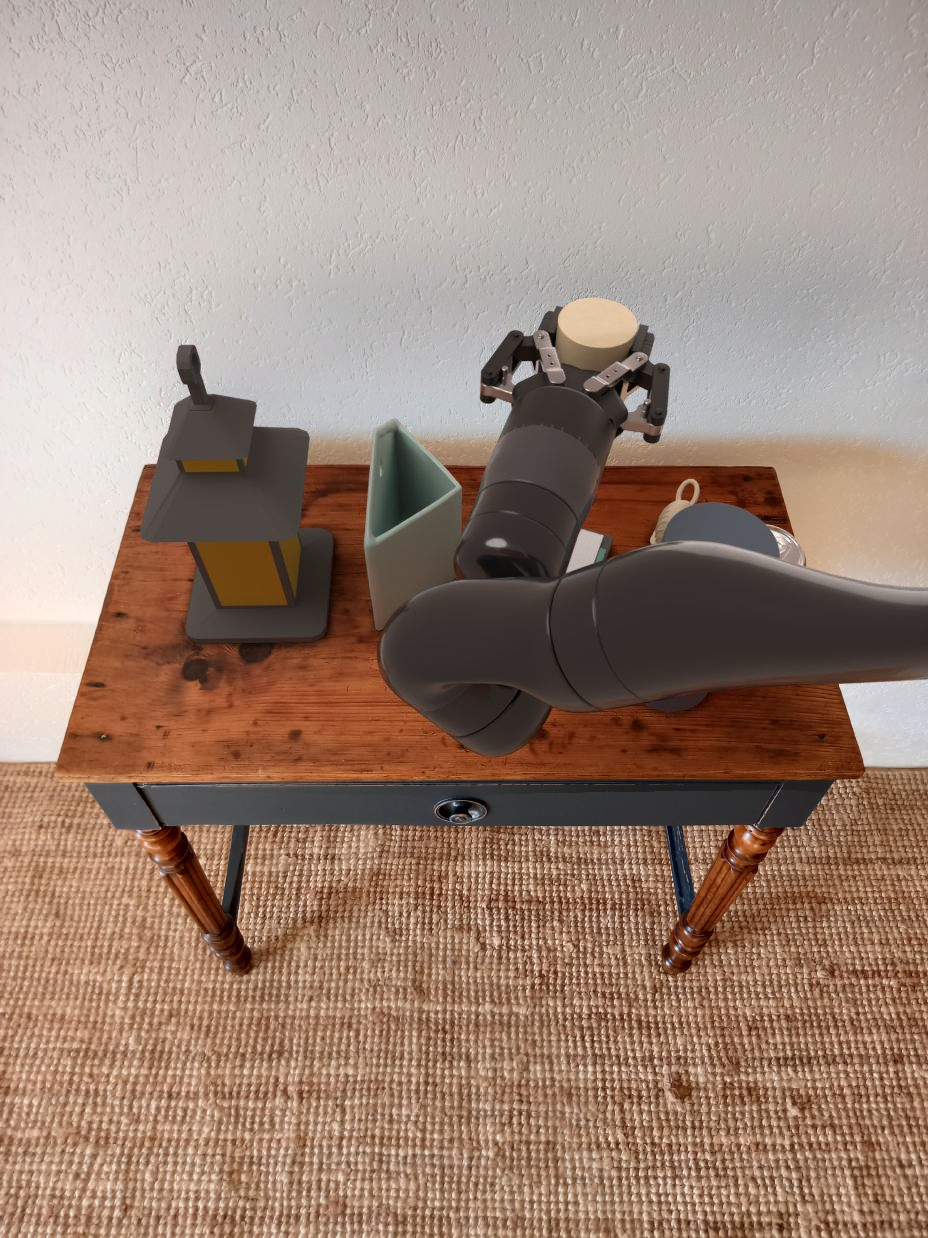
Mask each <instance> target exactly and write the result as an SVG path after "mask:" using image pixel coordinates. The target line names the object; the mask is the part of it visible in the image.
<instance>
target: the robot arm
mask: <svg viewBox="0 0 928 1238" xmlns="http://www.w3.org/2000/svg"><path fill="white" fill-rule="evenodd" d="M564 307H565V306H561V305H556V306H555V309H554V311H553V310H547V312H545V313H544V315H543V317H542V319H541V322H540V324H539V326H538V329H537V330H535V331H534V332H533V334H532V335H531V334H530V335H525V334H524V332H523V331H521V330H519V329H513V330H510V331H509V332H507V334H506V336H505V338H504V339H503V340H502V342H501V343H500V344H499V345H498V347H497V348H496V350H495V351H494V353H493V354H492V355H491V357H490V358H489V359H488V361H487V362H486V363H485V365H484V366H483V367H482V369H481V370H480V380H479V400H480V402H481V403H483V404H485V405H486V404H487V405H490V404H493V403H494V402H496V401H497V400H501V401H503V402H506V403H509V404H510V407H511V410H510V411H509V414H508V416H507V418H506V421H505V423H504V426H503V428H502V430H501V432H500V434H499V437H498V439H497V441H496V443H495V445H494V447H493V451H492V452H491V454H490V457H489V459H488V462H487V465H486V466H485V469H484V471H483V474H482V477H481V481H480V485H479V488H478V493H477V496H476V498H475V502H474V504H473V506H472V509H471V511H470V513H469V515H468V518H467V519H466V522H465V525H464V526H463V529H462V530H461V536H460V538H459V540H458V543H457V545H456V548H455V552H454V557H453V569H454V572H455V575H456V578H455V579H454V580H452V581H450V582H446V583H442V584H438V585H435V586H432V587H430V588H428V589H425V590H423V591H421V592H420V593H418V594H416V595H414V596H413V597H411V598H410V599H408V600H407V601H406V602H404V603H403V604H402V605H401V606H400V607H399V608H398V609H397V610H396V611H395V612H394V613H393V614H392V616H391V617H390V618H389V620H388V621H387V623H386V624H385V626H384V628H383V629H382V630H381V634H380V636H379V638H378V643H377V647H376V648H377V649H376V661H377V662H376V663H377V667H378V670H379V674H380V677H381V678H382V680H383V682H384V683H385V685H386V686H387V687H388V689H389V690H390V691H391V692H392V693H393V694H394V695H395V696H396V697H397V698H398V699H399V700H401V701H402V702H404V703H405V704H406V705H407V706H408V707H410V708H412V709H413V710H414V711H416V712H417V713H418V714H420V715H421V716H422V717H424V718H425V719H426V720H428V721H429V722H430V723H432V724H433V725H434V726H436V727H437V728H439V729H440V731H442V732H444V733H445V734H446V735H447V736H449V737H450V738H451V739H453V740H454V742H457V743H458V744H459V745H460V746H462V747H464V748H465V749H466V750H468V751H470V752H471V753H474V754H476V755H478V756H481V757H484V758H502V757H505V756H506V757H507V756H509V755H512V754H513V753H516V752H517V751H519V750H521V749H522V748H524V747H526V746H527V744H530V742H531V741H532V740H533V739H534V738H535V737H536V736H537V735H538V734H539V732H540V731H541V729H542V728H543V727H544V725H545V724H546V722H547V720H548V719H549V717H550V715H551V713H552V711H553V709H555V710H558V711H562V712H565V713H570V714H592V713H598V712H599V713H600V712H604V711H605V712H606V711H610V710H611V711H612V710H616V709H622V708H627V707H633V706H639V705H644V704H645V703H650V702H656V701H662V700H668V699H673V698H679V697H684V696H690V695H696V694H703V693H707V694H710V693H717V692H725V691H735V690H736V691H737V690H746V689H756V688H757V689H759V688H772V687H773V688H774V687H793V686H821V685H823V686H824V685H848V684H849V685H850V684H851V685H852V684H853V685H854V684H873V683H876V684H877V683H893V682H896V683H897V682H907V681H909V682H910V681H925V680H927V681H928V587H925V586H924V587H923V586H904V585H903V586H901V585H893V584H884V583H877V582H871V581H866V580H861V579H857V578H853V577H852V578H851V577H847V576H842V575H838V574H835V573H831V572H827V571H824V570H820V569H816V568H813V567H810V566H807V565H806V566H802V565H799V564H796V563H792V562H789V561H786V560H783V559H780V558H777V557H773V556H770V555H767V554H764V553H760V552H756V551H752V550H748V549H745V548H741V547H737V546H733V545H728V544H722V543H716V542H711V541H699V540H678V541H670V542H663V543H657V544H652V545H651V544H649V545H644V546H640V547H637V548H634V549H630V550H628V551H625V552H622V553H619V554H617V555H613V556H611V557H608V558H607V559H605V560H602V561H599V562H596V563H593V564H590V565H587V566H584V567H581V568H578V569H576V570H573V571H570V572H567V573H566V571H567V568H568V566H569V563H570V560H571V556H572V553H573V550H574V547H575V544H576V541H577V538H578V535H579V533H580V531H581V529H582V528H584V526H585V524H586V522H587V520H588V518H589V515H590V513H591V511H592V508H593V506H594V505H595V503H596V500H597V496H598V489H599V486H600V484H601V480H602V478H603V477H602V476H603V474H604V472H605V471H604V470H605V468H606V464H607V462H608V459H609V455H610V452H611V449H612V446H613V443H614V441H615V440H616V438H618V437H619V436H621V435H622V434H623V433H624V431H627V432H634V433H641V434H642V438H643V441H644V442H645V443H648V444H651V445H654V444H657V443H659V441H660V439H661V436H662V433H663V429H664V427H665V426H664V425H665V423H666V421H667V420H666V419H667V416H668V407H669V394H670V380H671V367H670V366H669V365H668V364H667V363H666V362H665V363H664V362H658V363H656V364H654V363H652V362H651V361H650V359H651V358H650V357H651V355H652V351H653V347H654V343H655V340H656V337H655V334H654V333H653V332H649V328H650V325H648V324H644V323H643V324H642V323H639V325H638V329H637V334H636V338H635V341H634V343H633V346H632V349H631V353H630V356H629V357H628V358H627V359H625V360H624V361H623V362H621V363H620V362H619V361H616V362H615V363H613V364H612V365H611V366H609V367H608V368H607V369H605V370H604V371H603V372H600V371H596V370H586V369H580V368H577V367H575V366H573V365H569V364H565V363H561V365H560V362H559V359H558V356H557V352H556V349H555V347H554V344H555V336H556V329H557V321H558V316H559V313H560V312H561V310H562V309H563V308H564ZM522 362H530V366H531V369H532V373H533V374H532V375H531V376H529V377H527V378H524V379H523V380H520V381H518V382H517V383H516V384H514V383H513V376H514V374H515V373H516V372H517V370H518V369H519V368H520V366H521V364H522ZM640 388H641V389H643V390H645V391H647V392H646V399H644V401H643V403H641V404H638V405H637V407H636V410H633V411H629V410H628V407H627V406H626V404H625V401H626V399H627V398H628V397H629V396H630V395H632V394H633V393H634V392H636V391H637V390H638V389H640Z"/></svg>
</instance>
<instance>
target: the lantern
mask: <svg viewBox="0 0 928 1238" xmlns="http://www.w3.org/2000/svg"><path fill="white" fill-rule="evenodd" d="M175 363H176V371H177V373H178V377H179V379H180V382H181V384H182V385H183V386H185V385H186V387H187V390H188V392H189V395H188V396H186V397H184V398H182V399H181V400H178V401H177V402H176V403H175V404H174V406H173V409H172V413H171V417H170V421H169V426H168V429H167V432H166V434H165V435H164V437H163V438H162V440H161V444H160V449H159V452H158V455H157V460H156V465H155V469H154V472H153V476H152V480H151V485H150V488H149V492H148V496H147V500H146V504H145V508H144V512H143V516H142V520H141V524H140V528H139V535H140V539H142V540H143V541H147V542H149V543H151V544H153V543H156V544H157V543H187V546H188V548H189V550H190V552H191V554H192V557H193V560H194V562H195V565H196V569H195V573H194V579H193V585H192V590H191V595H190V600H189V605H188V610H187V616H186V621H185V626H184V629H185V633H186V636H187V638H188V640H189V641H192V642H193V643H196V644H198V645H202V644H203V645H204V644H206V645H207V644H208V645H209V644H210V645H211V644H266V643H267V644H269V643H271V644H272V643H273V644H274V643H277V644H278V643H314V642H317V641H319V640H321V639H323V638H324V637H325V635H326V633H327V632H328V619H329V607H330V593H331V583H332V582H331V581H332V572H333V571H332V570H333V560H334V559H333V558H334V547H335V546H334V545H335V542H334V537H333V535H332V533H331V530H328V529H326V528H323V527H301V519H302V513H303V504H304V503H303V502H304V494H305V484H306V476H307V474H306V473H307V467H308V457H309V450H310V449H309V448H310V439H311V437H310V434H309V432H308V431H307V430H305V429H301V428H299V427H283V426H281V427H280V426H255V420H256V413H257V407H258V404H257V402H256V401H254V400H251V399H245V398H240V397H235V396H228V395H222V394H216V393H208V392H207V389H206V385H205V383H204V380H203V376H202V373H201V371H202V364H201V359H200V355H199V352H198V349H197V346H196V345H195V344H179V345H178V347H177V351H176V356H175Z"/></svg>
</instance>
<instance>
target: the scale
mask: <svg viewBox="0 0 928 1238" xmlns="http://www.w3.org/2000/svg"><path fill="white" fill-rule="evenodd" d="M613 542H614V536H612V535H609V534H605V533H602V532H598V531H595V530H591V529H588V528H584V527H582V529H581V531H580V533H579V535H578V538H577V541H576V544H575V547H574V550H573V553H572V556H571V560H570V563H569V566H568V568H567V571H566V573H567V572H570V571H573V570H576V569H578V568H581V567H584V566H587V565H590V564H593V563H596V562H599V561H602V560H605V559H608V558H609V555H610V553H611V549H612V545H613Z"/></svg>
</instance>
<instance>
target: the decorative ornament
mask: <svg viewBox="0 0 928 1238" xmlns="http://www.w3.org/2000/svg"><path fill="white" fill-rule="evenodd" d="M690 484H691V485H692V486H693V488H694V492H693V496H692V498H691V500H685V499H683V500H682V495H683V491H684V490H685V488H686V487H687V486H688V485H690ZM700 492H701V490H700V484H699V482H698V481H697V480H696V479H694V478H687V479H685V480H683V482H682V483H681V484H680V485H679V487H678V488H677V491H676V494H675V500H674V501H672V502H671V503H669V504H668V505H667V506H665V507H664V508H663V509H662V511H661V513H660V514H659V516H658V520H657V522H656V526H655V530H654V531H653V533H652V535H651V537H650V539H649V542H650V543H649V544H650V545H652V544H657V543H661V540H662V537H663V535H664V532H665V529H666V527H667V524H668V523H669V521H670V520H671V519H672V517H673V516H674V515H675V514H677V513H678V512H679V511H681V510H683V509H684V508H686V507H689V506H691V505H695V504H697V502H698V500H699V497H700Z"/></svg>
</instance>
